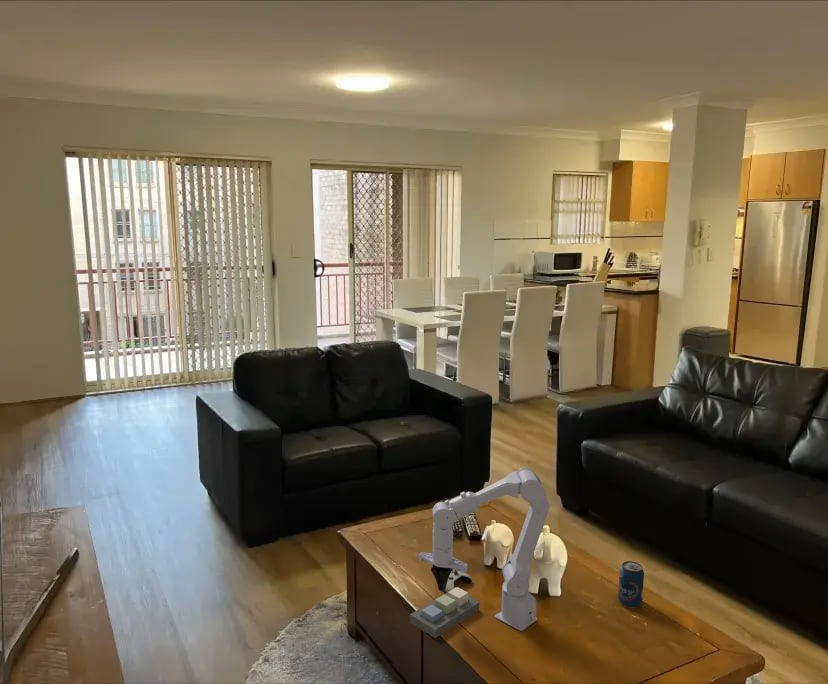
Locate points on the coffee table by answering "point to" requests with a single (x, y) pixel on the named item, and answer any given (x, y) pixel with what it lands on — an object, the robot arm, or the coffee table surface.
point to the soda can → (631, 584)
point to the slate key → (432, 614)
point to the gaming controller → (457, 579)
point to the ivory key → (459, 596)
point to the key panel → (444, 618)
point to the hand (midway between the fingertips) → (442, 589)
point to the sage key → (445, 604)
